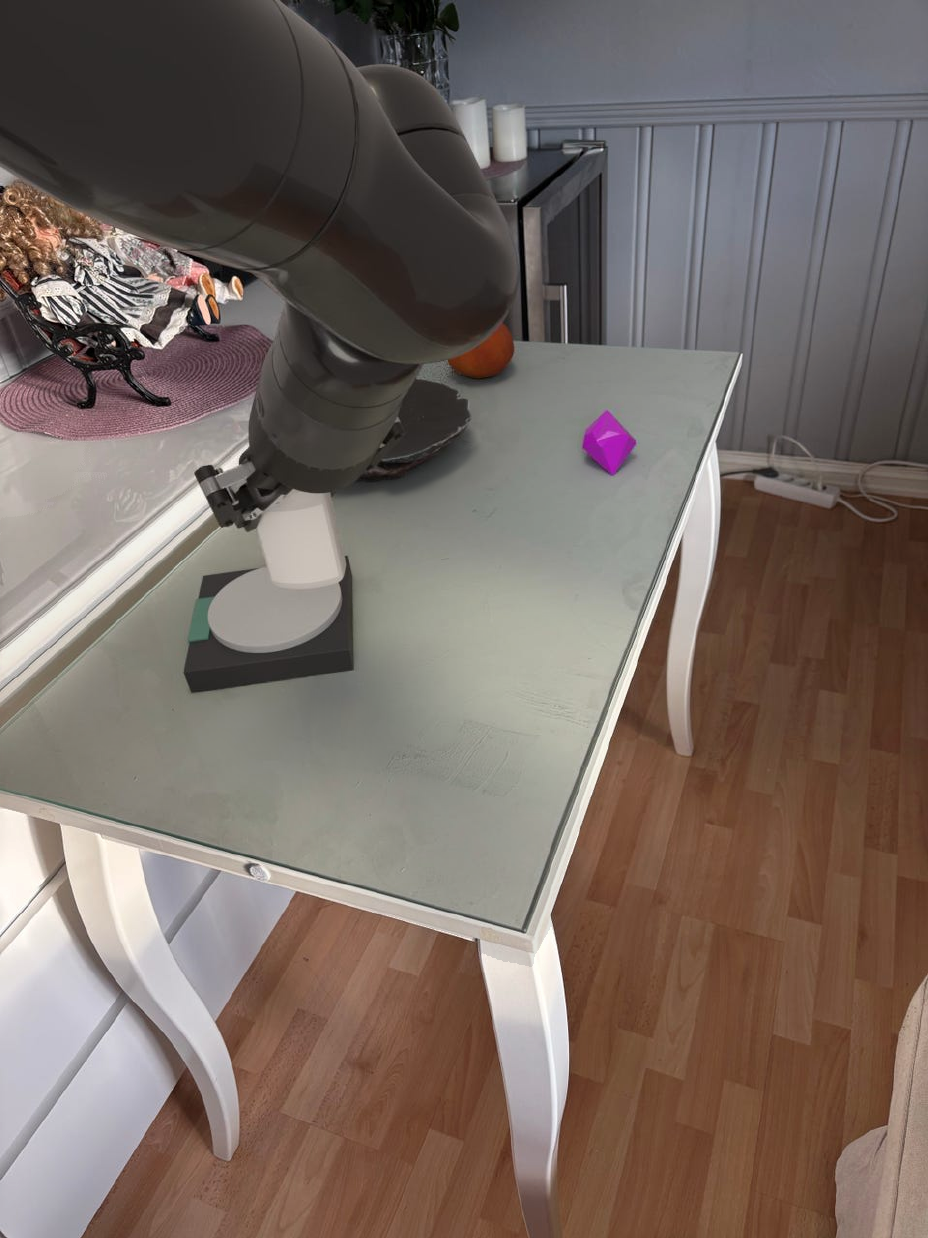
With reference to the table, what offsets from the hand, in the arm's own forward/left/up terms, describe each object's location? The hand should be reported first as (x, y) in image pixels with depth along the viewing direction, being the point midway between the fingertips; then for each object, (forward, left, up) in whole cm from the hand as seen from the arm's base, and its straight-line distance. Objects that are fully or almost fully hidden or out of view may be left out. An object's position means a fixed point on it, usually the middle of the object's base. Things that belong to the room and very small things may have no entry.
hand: (283, 502), depth 66 cm
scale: (-5, +8, -18) cm, 20 cm away
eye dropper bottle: (+1, -2, -6) cm, 6 cm away
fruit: (+20, +57, -18) cm, 63 cm away
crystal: (+31, +30, -18) cm, 47 cm away
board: (+6, +39, -18) cm, 44 cm away
